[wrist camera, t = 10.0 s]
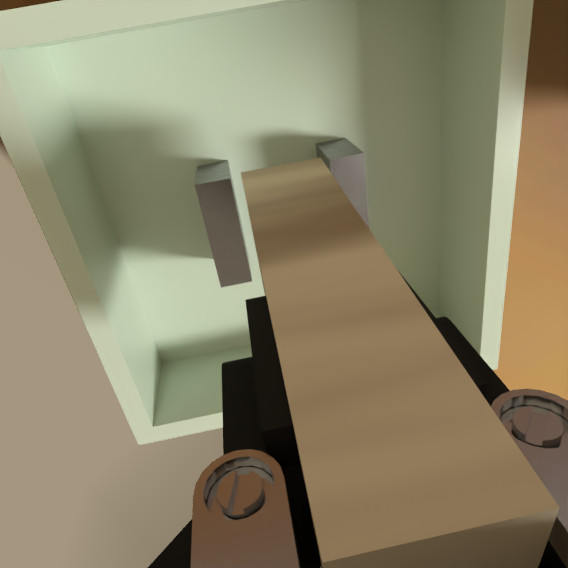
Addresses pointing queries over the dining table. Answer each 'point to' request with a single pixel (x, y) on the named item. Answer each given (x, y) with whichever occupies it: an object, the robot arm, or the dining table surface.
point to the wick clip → (226, 218)
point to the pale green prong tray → (256, 161)
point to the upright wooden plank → (382, 397)
